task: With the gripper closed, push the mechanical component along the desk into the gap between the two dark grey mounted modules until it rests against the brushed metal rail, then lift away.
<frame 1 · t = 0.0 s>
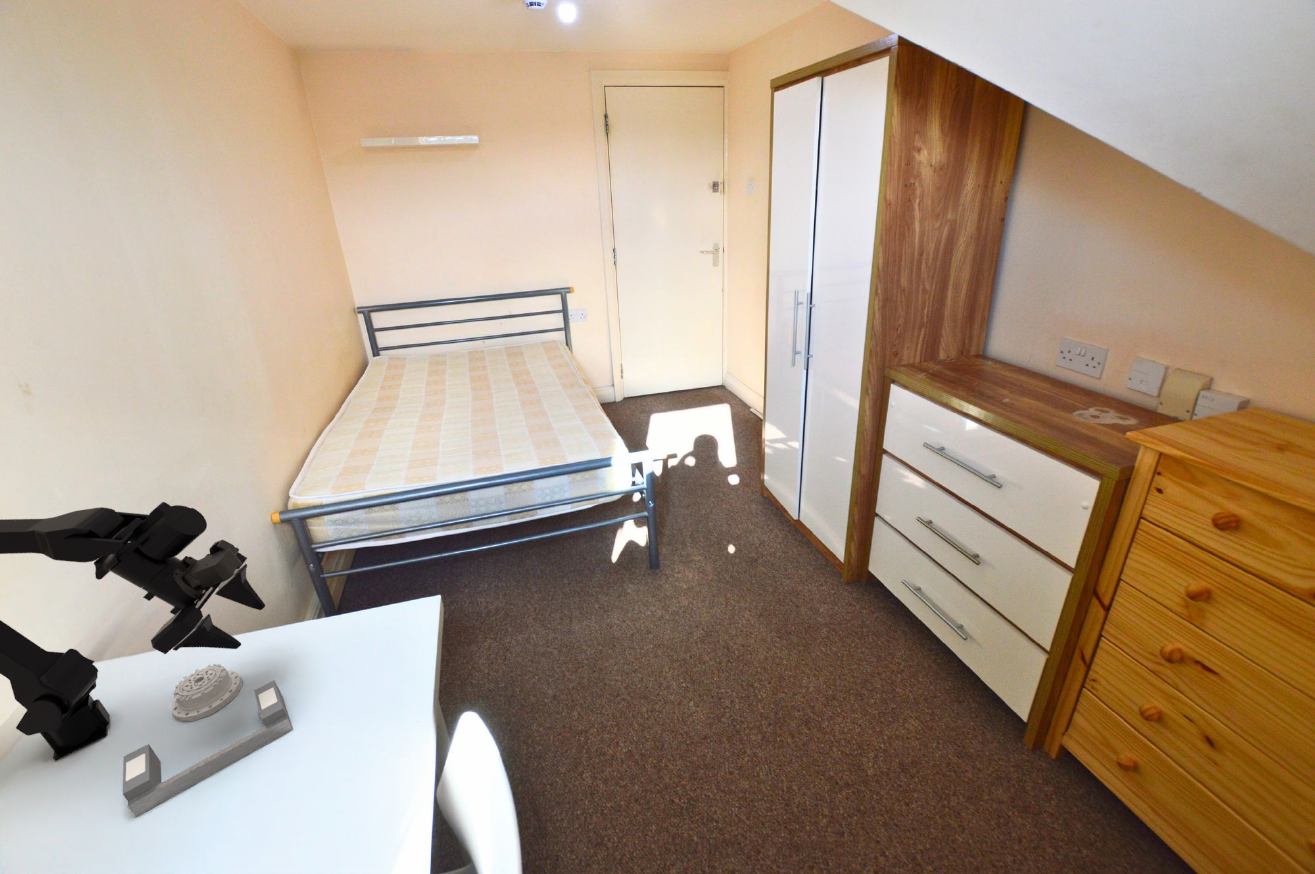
hand: (251, 626, 93), 15 cm above the table, tool tilted 35°, fingers open, 9 cm apart
metal rail: (219, 768, 87), on the table
mounted modules: (216, 748, 90), on the table
mechanical component: (210, 699, 100), on the table
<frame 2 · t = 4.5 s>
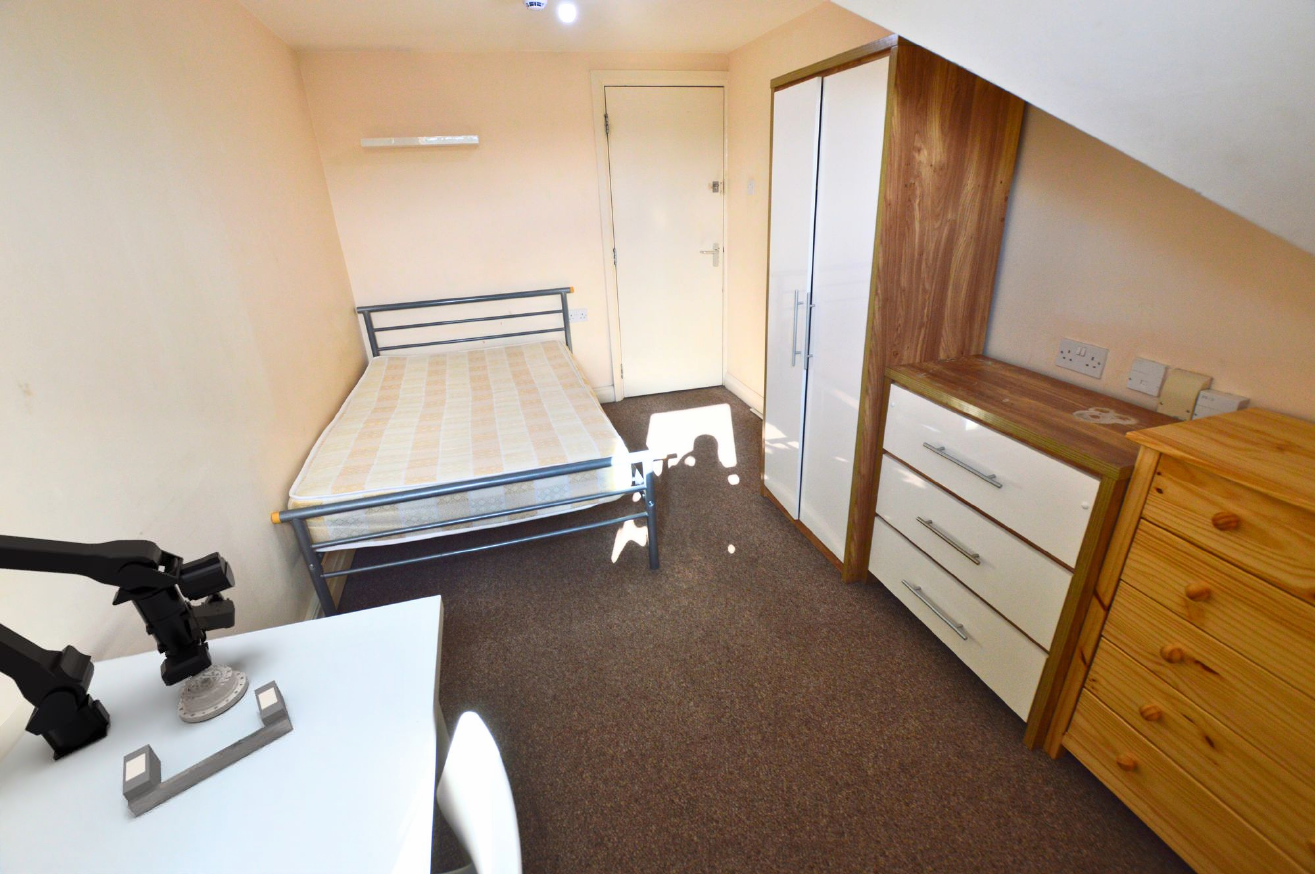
hand: (203, 677, 102), 2 cm above the table, tool pointing down, fingers closed
mechanical component: (216, 699, 100), on the table, touching gripper
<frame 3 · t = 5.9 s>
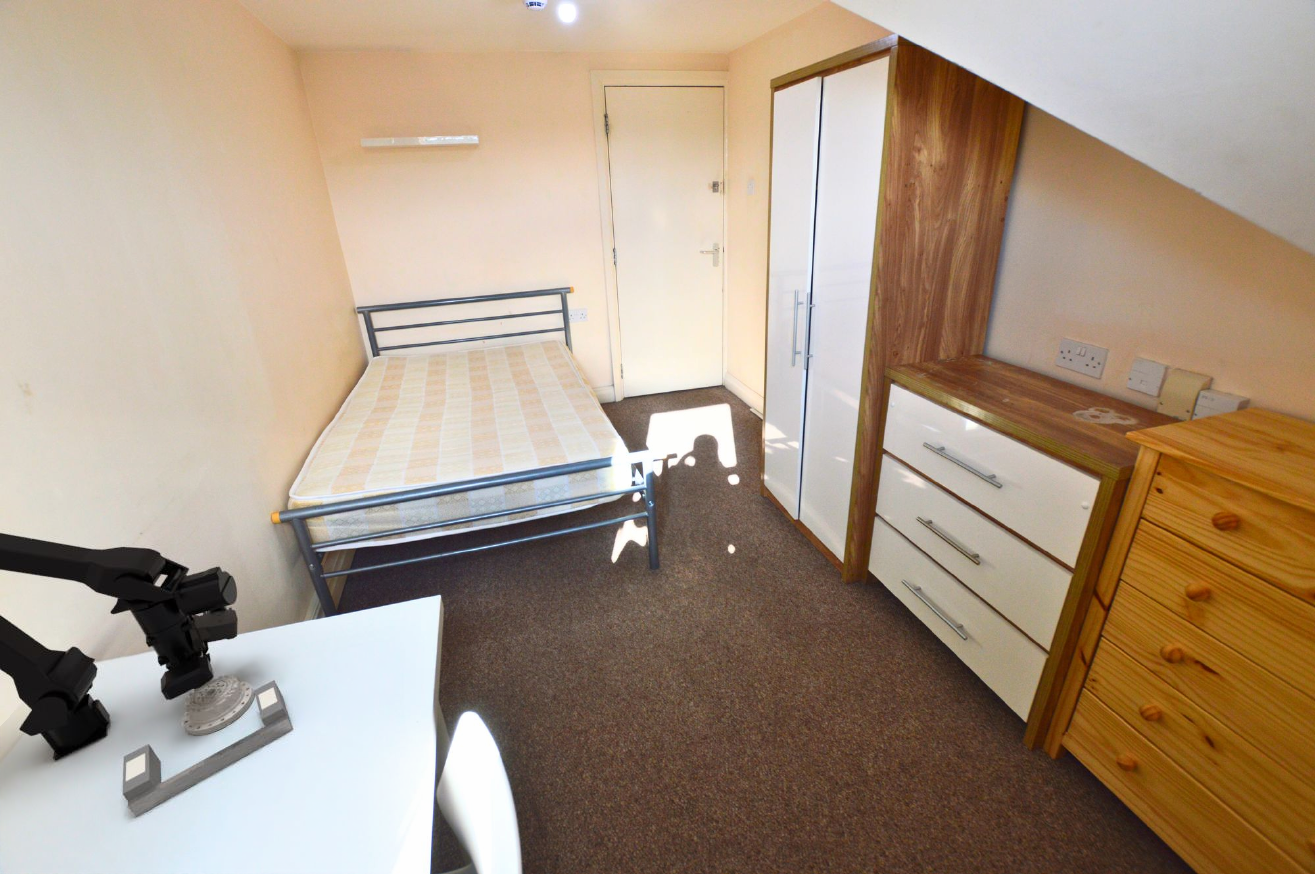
hand: (205, 689, 100), 2 cm above the table, tool pointing down, fingers closed
mechanical component: (221, 711, 97), on the table, touching gripper
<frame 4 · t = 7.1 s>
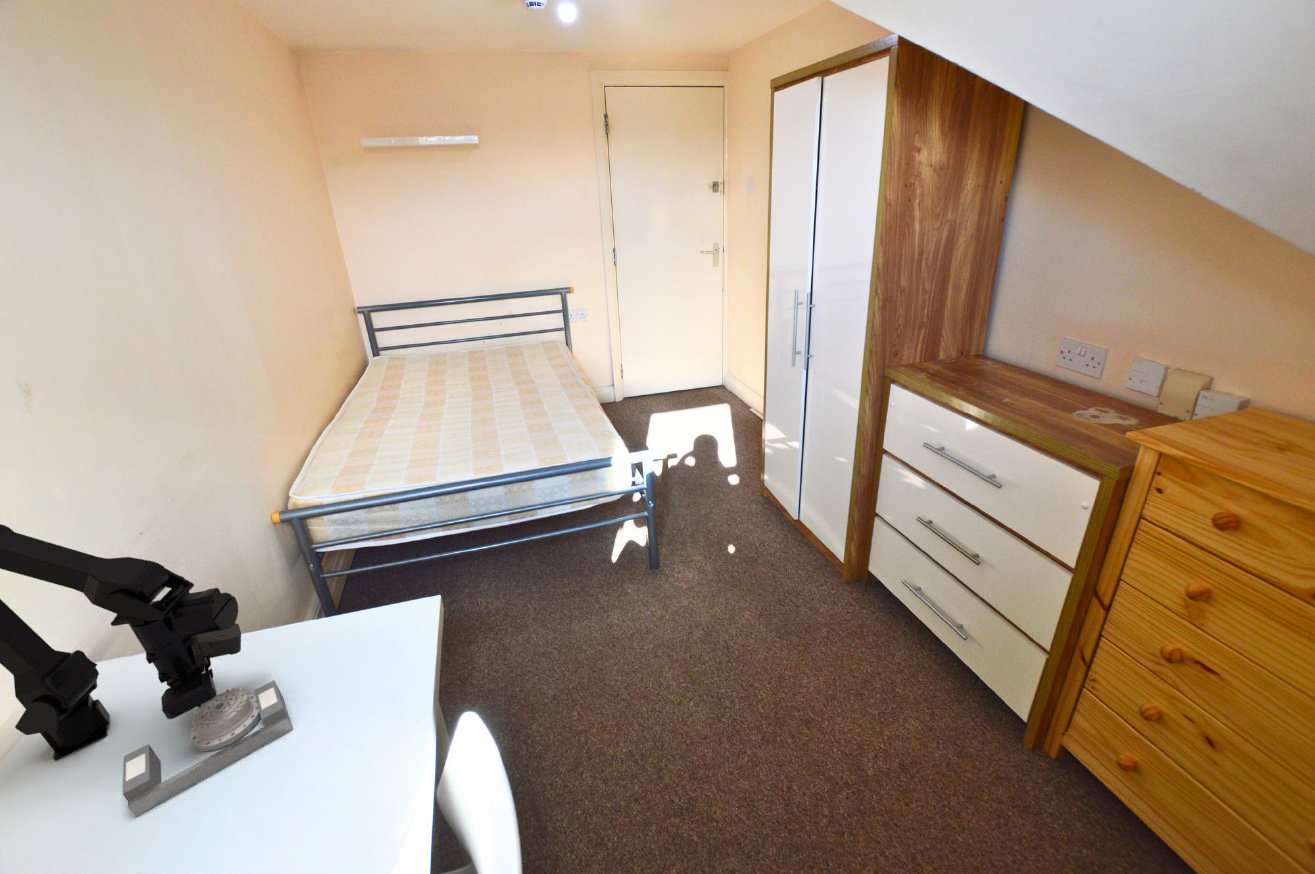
hand: (207, 706, 96), 2 cm above the table, tool pointing down, fingers closed
mechanical component: (230, 725, 94), on the table, touching gripper
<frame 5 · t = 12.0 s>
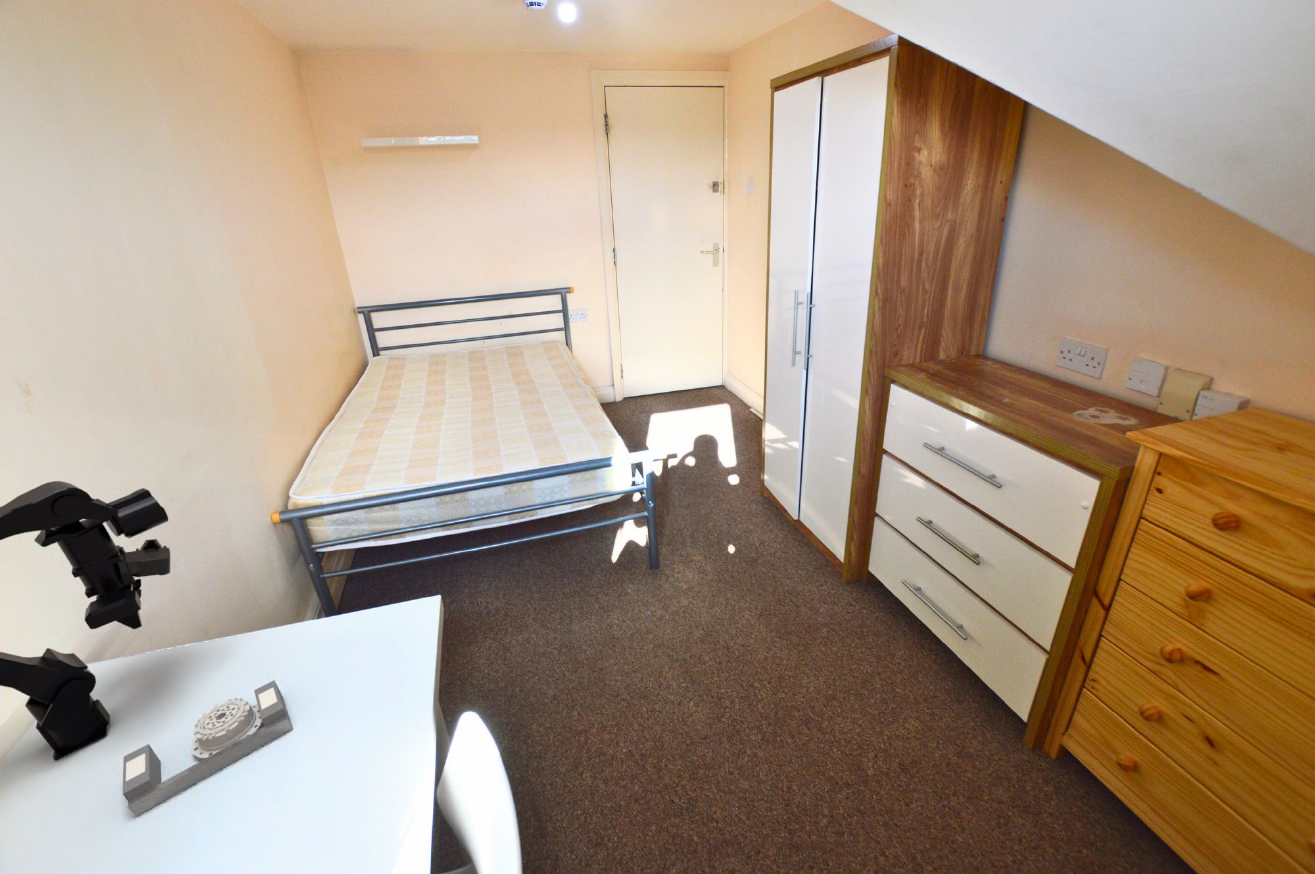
hand: (138, 626, 99), 13 cm above the table, tool pointing down, fingers closed
mechanical component: (232, 736, 93), on the table
at the end: mechanical component 2.2 cm from the target spot, on the table; mechanical component tilted 0° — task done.
